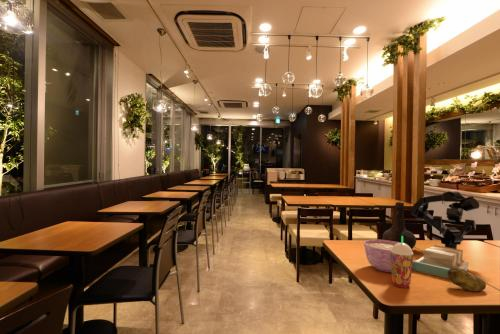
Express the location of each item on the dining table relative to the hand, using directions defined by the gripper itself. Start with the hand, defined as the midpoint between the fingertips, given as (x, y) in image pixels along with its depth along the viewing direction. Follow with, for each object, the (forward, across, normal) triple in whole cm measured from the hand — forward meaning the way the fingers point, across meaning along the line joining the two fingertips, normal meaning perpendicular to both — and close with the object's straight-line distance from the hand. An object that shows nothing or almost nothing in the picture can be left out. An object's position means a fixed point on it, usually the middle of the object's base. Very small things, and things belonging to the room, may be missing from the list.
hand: (450, 235), depth 158 cm
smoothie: (+48, -4, -28) cm, 56 cm away
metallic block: (+19, 0, +1) cm, 19 cm away
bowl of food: (+37, -17, -18) cm, 44 cm away
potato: (+36, +14, -16) cm, 42 cm away
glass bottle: (+9, -26, +10) cm, 29 cm away
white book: (+22, 0, -3) cm, 23 cm away
